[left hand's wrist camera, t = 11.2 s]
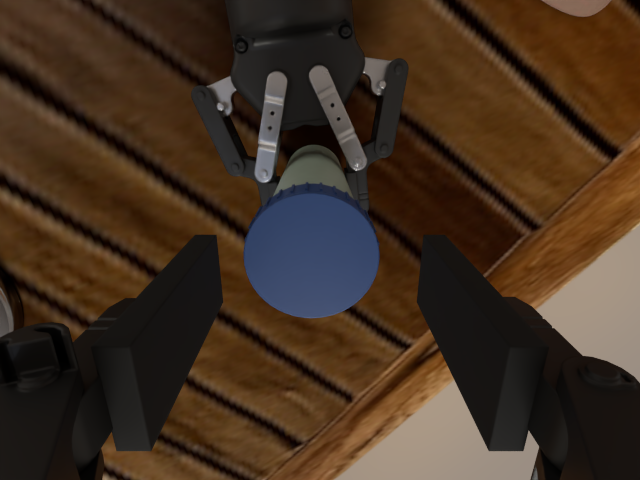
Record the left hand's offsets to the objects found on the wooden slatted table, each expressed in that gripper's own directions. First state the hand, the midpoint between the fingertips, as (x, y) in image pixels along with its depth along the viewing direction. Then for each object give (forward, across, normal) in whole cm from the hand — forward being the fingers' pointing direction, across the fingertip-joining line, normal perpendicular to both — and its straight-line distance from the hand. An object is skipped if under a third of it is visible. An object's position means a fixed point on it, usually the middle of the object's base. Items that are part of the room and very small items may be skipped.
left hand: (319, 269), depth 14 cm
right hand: (+14, 0, -3) cm, 14 cm away
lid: (+1, 0, 0) cm, 1 cm away
